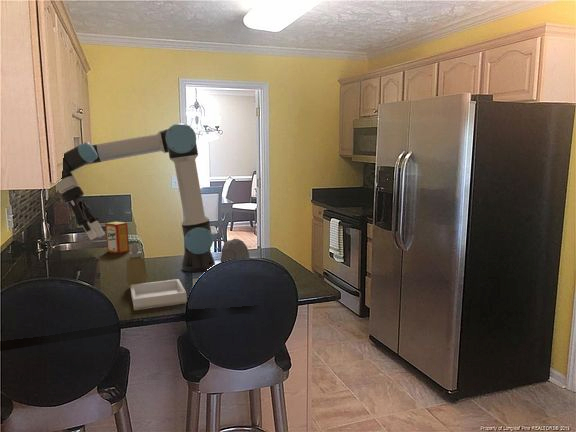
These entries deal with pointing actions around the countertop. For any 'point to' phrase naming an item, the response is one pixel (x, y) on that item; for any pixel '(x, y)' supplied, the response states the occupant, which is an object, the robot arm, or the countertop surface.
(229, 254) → the small grey backpack
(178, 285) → the box
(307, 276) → the countertop surface
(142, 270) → the squeeze bottle
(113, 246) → the baking soda box
